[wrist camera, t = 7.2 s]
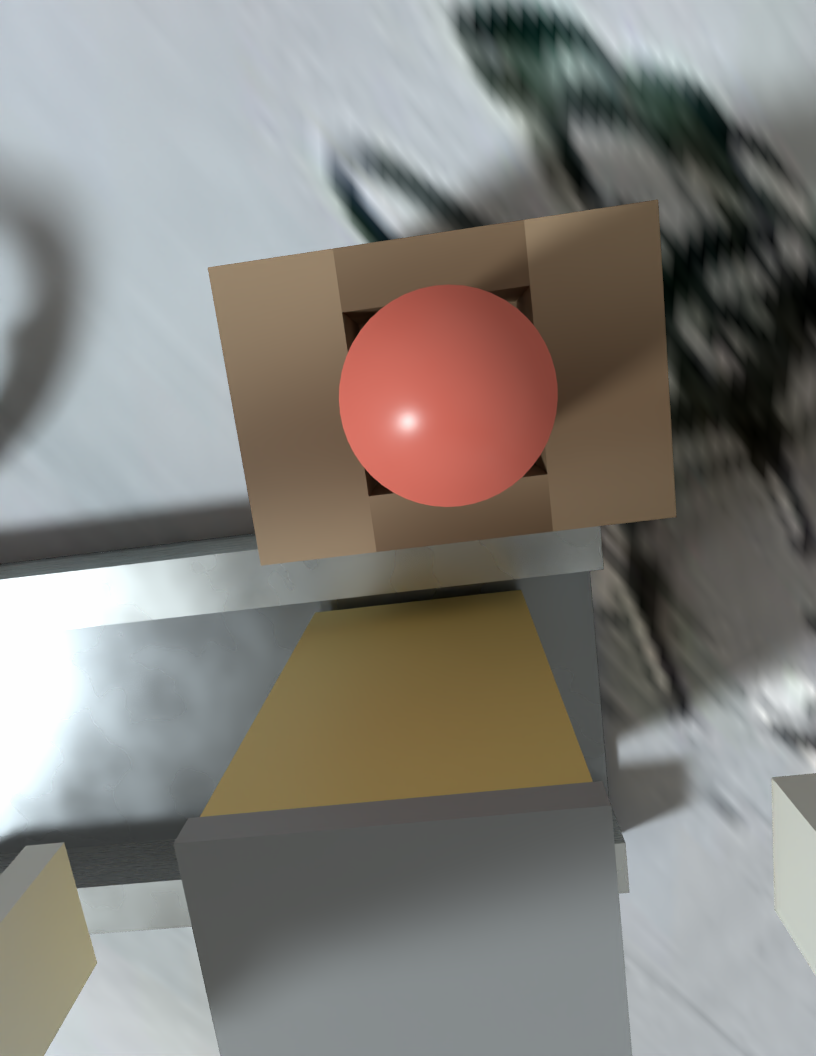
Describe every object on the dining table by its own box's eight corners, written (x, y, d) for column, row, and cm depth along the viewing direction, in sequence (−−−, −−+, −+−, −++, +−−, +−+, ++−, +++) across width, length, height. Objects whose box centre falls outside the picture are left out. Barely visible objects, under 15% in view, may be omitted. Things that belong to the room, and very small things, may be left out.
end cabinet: (291, 308, 19) (207, 267, 13) (580, 266, 19) (658, 199, 12) (323, 512, 21) (262, 575, 14) (597, 478, 20) (676, 527, 13)
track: (-102, 576, 22) (-168, 599, 19) (581, 494, 20) (599, 508, 18) (-13, 890, 24) (-63, 945, 22) (609, 839, 22) (629, 892, 20)
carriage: (311, 609, 20) (173, 843, 10) (524, 585, 20) (611, 805, 10) (344, 811, 22) (253, 1205, 11) (545, 794, 21) (642, 1186, 11)
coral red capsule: (358, 325, 12) (323, 301, 9) (516, 303, 12) (546, 268, 9) (380, 481, 13) (356, 518, 9) (531, 462, 13) (567, 493, 9)
